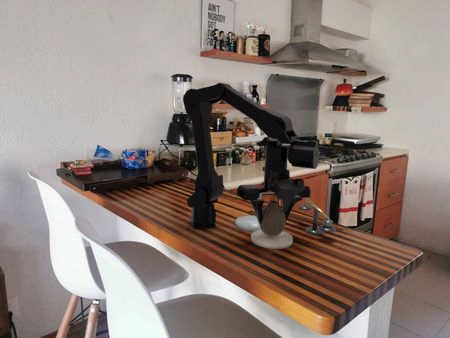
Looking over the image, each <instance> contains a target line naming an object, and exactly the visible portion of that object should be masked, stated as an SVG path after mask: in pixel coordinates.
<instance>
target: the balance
mask: <svg viewBox="0 0 450 338" xmlns="http://www.w3.org/2000/svg"><path fill="white" fill-rule="evenodd" d="M303 200H304V204H298V205H297V209H298V210H300V211H313V212H312V213H313V214H312V226H306V227H305V233H306V234H307V235H311V236H323V234H324V233H335V232H337V228H336V226H333V220H332V219H331V218H330V217H329V216H328V215H327V214H326V213H325V212H324V211H323V210H322V209H321V208H320V206H318V205H316V204H315V203H314V202H313V201H312V200H311V199H309V197H308V198H304V199H303ZM306 203H308V204H306ZM319 215H321V216H322V217H323V222H322V224H320V225H318V224H319Z"/></svg>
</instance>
